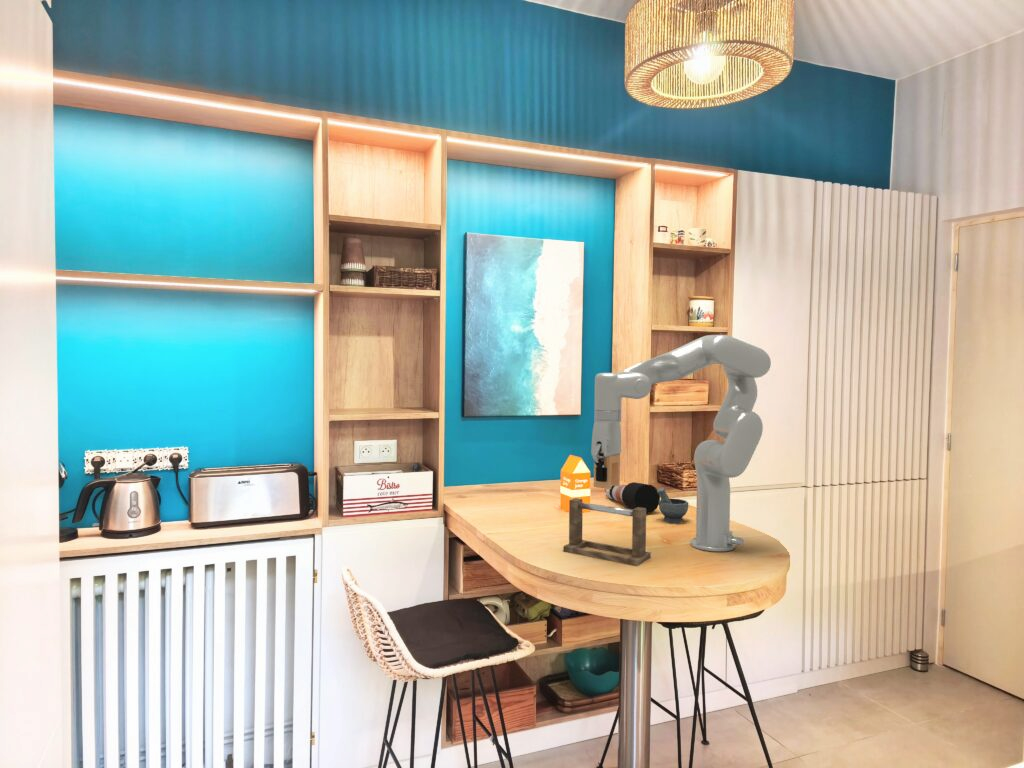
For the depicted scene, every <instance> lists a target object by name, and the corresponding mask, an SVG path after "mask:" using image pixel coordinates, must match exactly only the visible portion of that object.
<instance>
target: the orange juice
mask: <svg viewBox="0 0 1024 768" xmlns="http://www.w3.org/2000/svg"><path fill="white" fill-rule="evenodd" d="M574 498H579V499H583V503H589V504H591V470H590V469H589V468H588V466H587V465H586V463H585V462H584V460H583V458H582V457H580V456H576V455H572V454H569V456H568V457H567V459H566V460H565V463H564V464H563V466H562V468H561V469H560V510H562V511H565V512H567V513H569V500H571V499H574ZM590 512H591V510H587V509H582V514H583V513H584V514H585V513H590Z"/></svg>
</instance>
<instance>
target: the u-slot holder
mask: <svg viewBox="0 0 1024 768" xmlns="http://www.w3.org/2000/svg"><path fill="white" fill-rule="evenodd" d="M600 456H604V455H602V454H600ZM601 460H602V462H603V459H601ZM605 468H607V481H606V482H600V481H596V467H595V462H594V461H593V488H596V489H597V488H599V489H604V490H605V489H611V485H612V486H620V485H621V483H620V480H621V479H620V473H621V469H620V468H621V453H620V454H617V455H614V456H610V457H607V462H606V467H605Z"/></svg>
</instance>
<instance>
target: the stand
mask: <svg viewBox="0 0 1024 768" xmlns="http://www.w3.org/2000/svg"><path fill="white" fill-rule="evenodd" d="M579 502H583V499H579V498H574V499H571V500H569V512H568V514H569V515H568V518H569V519H568V544H564V545H563V546H562V547H563V548H562V549H563V550H562V551H563V552H565V553H569V554H570V553H571V554H574V555H581V556H584V557H585V556H586V557H590V558H596V559H600V560H606V561H611V562H616V563H620V564H626V565H630V566H634V567H638V566H640V565H641V564H643V563H644V562H646V561H647V560H649V559H651V553H652V552H649V551H646V549H647V548H646V547H647V545H646V543H647V539H646V538H647V513H646V508H641V507H637V508H635V509H633V517H632V523H631V524H632V533H631V535H632V538H631V542H632V543H631V545H632V546H631V548H630V547H629V548H628V547H624V546H617V545H611V544H608V543H601V542H596V541H591V540H584V539H583V513H582V509H581V508H578V503H579ZM585 548H590V549H585ZM591 548H593V549H596V550H602V551H608V552H612V553H616V554H617V553H618V554H622V555H628V556H629V557H628V556H627V557H626V556H622V555H618V554H617V555H616V554H612V553H608V552H607V553H606V552H602V551H596V550H591Z"/></svg>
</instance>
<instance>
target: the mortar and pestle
mask: <svg viewBox="0 0 1024 768" xmlns="http://www.w3.org/2000/svg"><path fill="white" fill-rule="evenodd" d="M657 493H658V494H659V495H660V500H659V505H658V508H659V510H660V513H661V514H662V515H663V516H664V518H663V521H664V523H666V524H667V523H668V524H675V525H677V524H682V523H684V522H683V517H684V516H685V515H686V514H687V512H688V510H689V502H688V501H687V500H685V499H680V498H671V497H670V496H668V493H667V492H666V488H664V487H662V486H661V487H659V488H657Z"/></svg>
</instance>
